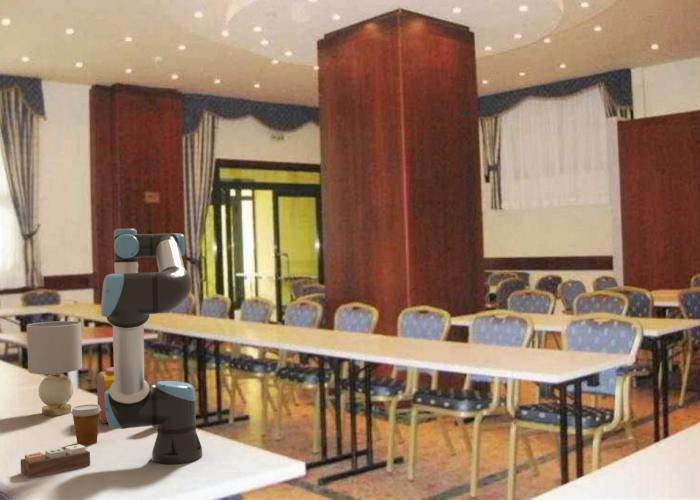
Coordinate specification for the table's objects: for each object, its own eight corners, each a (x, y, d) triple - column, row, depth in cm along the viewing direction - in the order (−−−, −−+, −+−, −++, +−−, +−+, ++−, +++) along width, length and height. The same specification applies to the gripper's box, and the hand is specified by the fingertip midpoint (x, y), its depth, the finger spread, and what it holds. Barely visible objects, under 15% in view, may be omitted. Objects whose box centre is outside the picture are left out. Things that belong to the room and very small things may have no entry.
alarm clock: (132, 423, 290) (131, 371, 290) (101, 427, 286) (99, 373, 286) (127, 413, 308) (125, 364, 307) (97, 416, 304) (96, 366, 303)
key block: (90, 465, 238) (89, 451, 238) (29, 478, 226) (28, 464, 226) (81, 460, 243) (80, 447, 243) (20, 472, 231) (20, 459, 231)
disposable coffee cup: (92, 447, 259) (91, 410, 258) (66, 446, 261) (65, 410, 260) (107, 439, 268) (106, 404, 268) (81, 438, 270) (80, 403, 270)
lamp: (67, 419, 300) (64, 326, 300) (18, 418, 303) (16, 326, 303) (92, 407, 320) (90, 320, 319) (46, 407, 323) (44, 321, 323)
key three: (45, 470, 230) (45, 454, 230) (30, 473, 227) (29, 457, 227) (40, 467, 234) (39, 451, 234) (25, 470, 231) (24, 454, 231)
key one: (85, 461, 238) (85, 446, 238) (71, 464, 235) (71, 449, 235) (80, 458, 242) (79, 443, 241) (65, 461, 239) (65, 446, 239)
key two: (66, 465, 234) (65, 450, 234) (51, 469, 231) (50, 453, 231) (60, 462, 238) (60, 447, 238) (45, 465, 235) (45, 450, 235)
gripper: (146, 274, 261) (147, 346, 261) (128, 273, 270) (130, 342, 271) (124, 275, 256) (126, 348, 256) (107, 275, 265) (109, 345, 266)
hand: (128, 345), depth 263 cm, fingers closed
